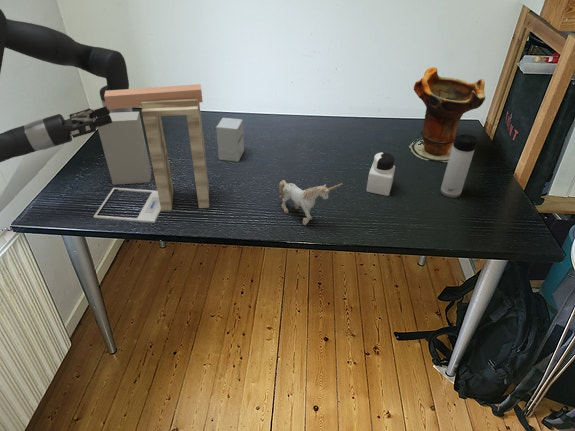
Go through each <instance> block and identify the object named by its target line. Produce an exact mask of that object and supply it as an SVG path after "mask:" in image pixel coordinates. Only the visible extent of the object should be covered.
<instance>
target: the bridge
mask: <svg viewBox="0 0 575 431" xmlns="http://www.w3.org/2000/svg"><path fill="white" fill-rule="evenodd" d="M141 104H142V107H141V116H142V119H143V126H144V129H145V134H146V139H147V140H146V141H147V145H148V150H149V154H150V155H149V156H150V160H151V161H150V162H151V164H152V170H153V175H154V180H155V185H156V191H158V196H159V201H160V206H161V211H162V212H163V211H164V212H165V211H172V209H173V199H174V192H175V190H174V186H173V185H174V184H173V181H172V180H173V179H172V174H171V166H170V161H169V158H168V150H167V144H166V138H165V134H164V128H163V123H162V117H171V116H186V120H187V121H186V122H187V128H188V136H189V144H190V151H191V159H192V165H193V174H194V180H195V188H196V196H197V204H198V209H208V208H209V209H210V188H209V187H210V186H209V185H210V184H209V177H208V176H209V175H208V168H207V158H206V157H207V156H206V151H205V140H204V133H203V132H204V131H203V123H202V122H203V121H202V114H201V105H200V103H198V101H197V99H185V100H161V101H142V102H141ZM161 211H160V212H161Z"/></svg>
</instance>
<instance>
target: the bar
mask: <svg viewBox="0 0 575 431" xmlns="http://www.w3.org/2000/svg"><path fill="white" fill-rule="evenodd" d="M104 98H105V102H106V106H107V109H120V108H132V109H133V108H142V104H141V102H142V101H161V100H185V99H197V101H198V103H199V104H200V103H203V101H204V100H203V92H202V85H201V84H186V85H185V84H184V85H183V84H182V85H169V86H155V87H142V88H141V87H140V88H138V87H137V88H129V89H123V90H109V91H105V95H104Z"/></svg>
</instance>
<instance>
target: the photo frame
mask: <svg viewBox="0 0 575 431" xmlns="http://www.w3.org/2000/svg"><path fill="white" fill-rule="evenodd" d="M115 190H117V191H121V192H133V193H148V194H150V195H149V196H148V198H147V199H146V202H145V204H144V205H143V206H142V209H141V211H140V212H139V213H138V214H139V215H138V216H137V217H136V218H135V217H121V216H108V215H98V214H99V212H100V211H101V210H102V209H103V206H104V205H105V204H106V203H107V201H108V200H109V198H110V197H111V195H112V193H113V192H114V191H115ZM160 213H161V206H160V201H159V196H158V191H157V190H151V189H140V188H138V189H137V188H136V189H135V188H126V187H125V188H123V187H112V189H111V190H110V192H109V193H108V195H107V196H106V198H105V199H104V201H103V202H102V203H101V205H100V206H99V208H98V209H97V211H96V212H95V214H94V215H93V219H103V220H116V221H125V222H126V221H128V222H142V223H153V224H154V223H155V222H156V221H157V219H158V218H159V215H160Z"/></svg>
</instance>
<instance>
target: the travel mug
mask: <svg viewBox="0 0 575 431" xmlns="http://www.w3.org/2000/svg"><path fill="white" fill-rule="evenodd" d="M477 144H478V138H477V137H476V136H474V135H471V134H465V133H464V134H463V133H462V134H460V135H455V140H454V142H453V147H452V150H451V154H450V157H449V161H448V162H447V165H446V168H445V172H444V175H443V179H442V183H441V186H440V193H441V194H442V195H444V196H445V197H448V198H451V199H452V198H453V199H455V198H458V197H460V196H461V194H462V191H463V188H464V186H465V182H466V180H467V179H466V178H467V176H468V172H469V170H470V169H469V168H470V166H471V163H472V159H473V156H474V153H475V150H476V147H477Z"/></svg>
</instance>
